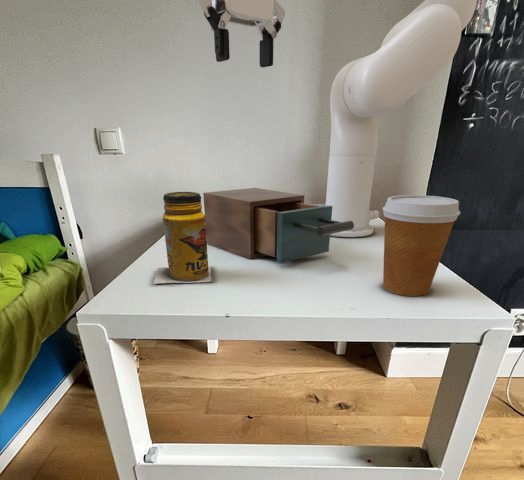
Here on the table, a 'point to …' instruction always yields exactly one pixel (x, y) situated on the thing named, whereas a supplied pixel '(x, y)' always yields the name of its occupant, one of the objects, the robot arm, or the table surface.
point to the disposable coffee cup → (415, 240)
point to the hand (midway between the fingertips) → (245, 63)
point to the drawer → (294, 230)
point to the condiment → (184, 240)
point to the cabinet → (238, 217)
